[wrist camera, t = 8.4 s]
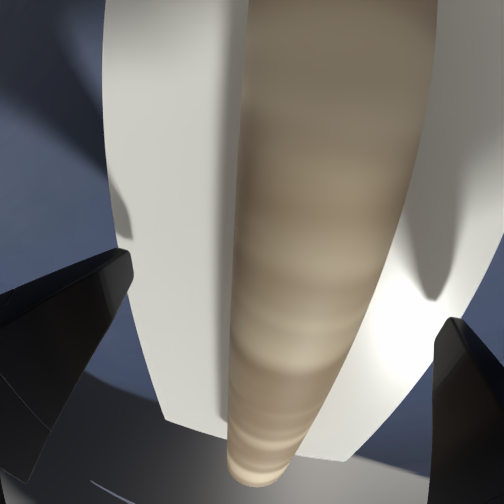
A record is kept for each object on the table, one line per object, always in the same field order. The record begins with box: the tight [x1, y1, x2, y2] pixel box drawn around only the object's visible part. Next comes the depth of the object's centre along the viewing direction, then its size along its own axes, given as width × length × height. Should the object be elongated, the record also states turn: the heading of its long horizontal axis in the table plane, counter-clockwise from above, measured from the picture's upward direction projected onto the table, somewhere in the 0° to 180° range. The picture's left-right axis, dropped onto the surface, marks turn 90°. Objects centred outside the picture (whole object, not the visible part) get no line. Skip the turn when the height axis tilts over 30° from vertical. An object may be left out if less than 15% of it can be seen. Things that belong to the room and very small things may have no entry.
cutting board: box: [102, 0, 504, 462], centre depth 9 cm, size 25×11×1 cm, turn 176°
